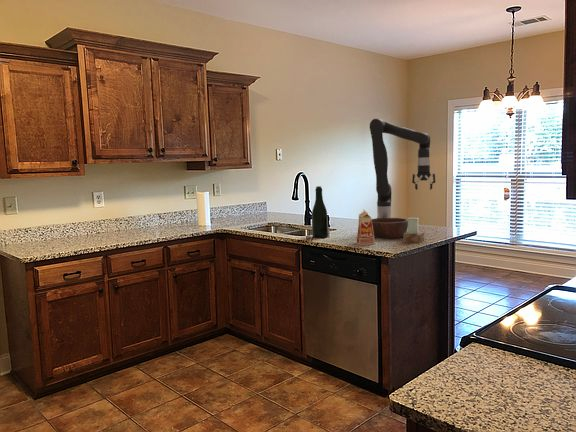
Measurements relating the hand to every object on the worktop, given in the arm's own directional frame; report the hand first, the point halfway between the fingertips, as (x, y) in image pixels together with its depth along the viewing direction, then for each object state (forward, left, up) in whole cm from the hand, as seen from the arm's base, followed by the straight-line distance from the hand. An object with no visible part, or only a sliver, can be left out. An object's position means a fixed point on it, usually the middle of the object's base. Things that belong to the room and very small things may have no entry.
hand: (423, 189), depth 310 cm
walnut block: (-6, -30, -28) cm, 42 cm away
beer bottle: (-65, -19, -28) cm, 73 cm away
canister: (-6, -30, -23) cm, 38 cm away
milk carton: (-33, -41, -28) cm, 60 cm away
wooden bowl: (-22, -13, -28) cm, 38 cm away
